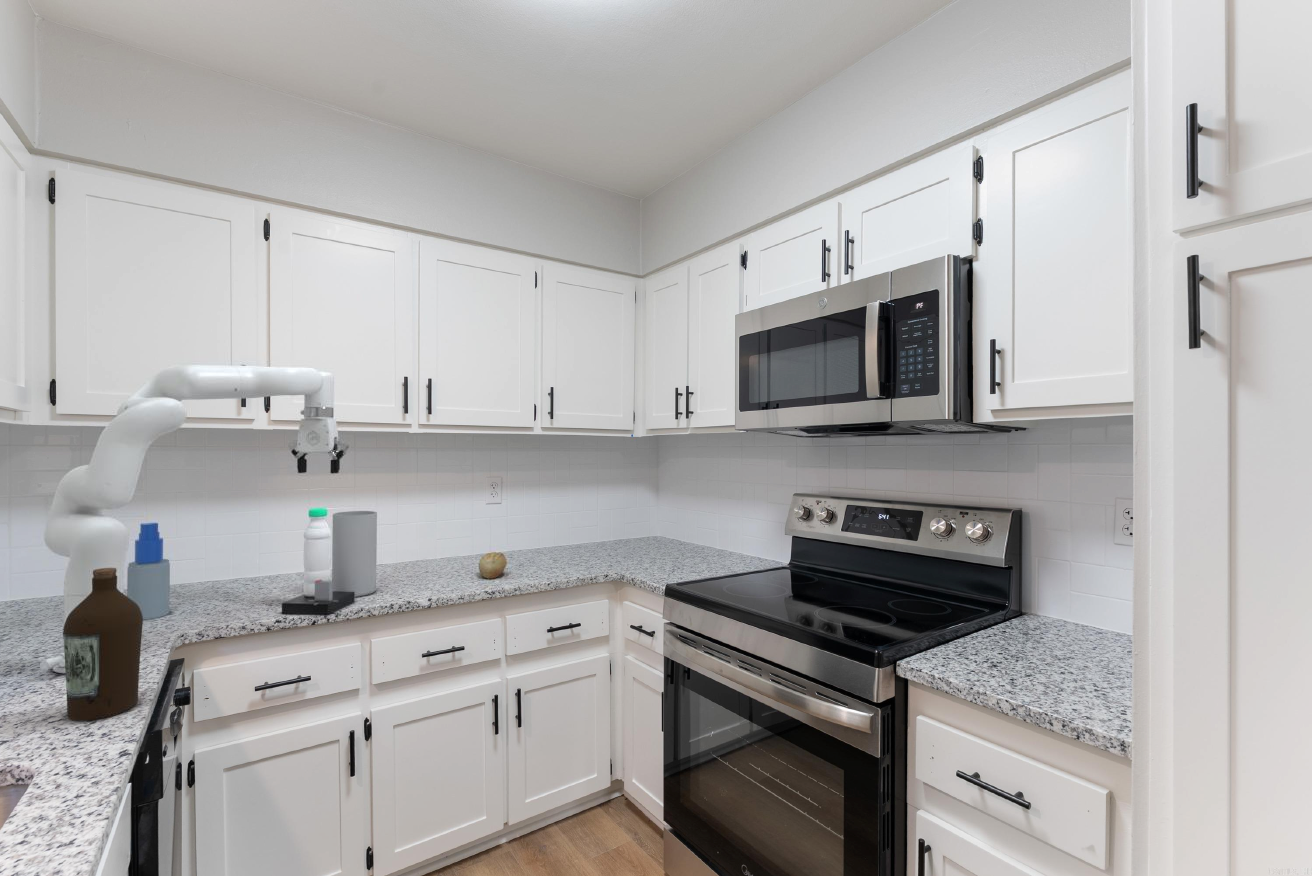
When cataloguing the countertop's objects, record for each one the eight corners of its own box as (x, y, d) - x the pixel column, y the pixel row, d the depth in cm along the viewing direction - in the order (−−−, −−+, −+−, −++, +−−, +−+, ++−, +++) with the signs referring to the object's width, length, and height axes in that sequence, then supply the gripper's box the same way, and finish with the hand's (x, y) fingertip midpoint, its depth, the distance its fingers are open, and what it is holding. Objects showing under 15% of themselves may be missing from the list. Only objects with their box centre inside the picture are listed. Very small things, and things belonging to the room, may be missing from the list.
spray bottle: (120, 621, 163) (121, 525, 163) (135, 612, 172) (136, 521, 172) (162, 618, 167) (163, 524, 167) (174, 609, 175) (175, 520, 175)
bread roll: (507, 570, 231) (508, 548, 231) (505, 579, 216) (505, 556, 216) (480, 571, 229) (481, 549, 229) (476, 580, 214) (477, 556, 214)
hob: (329, 616, 170) (329, 604, 170) (278, 615, 170) (278, 603, 170) (358, 601, 185) (358, 591, 185) (311, 600, 186) (312, 590, 186)
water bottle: (318, 598, 177) (319, 510, 177) (297, 596, 179) (298, 509, 179) (336, 592, 184) (337, 507, 184) (315, 590, 186) (316, 506, 186)
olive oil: (108, 695, 117) (110, 562, 117) (157, 699, 116) (158, 564, 116) (45, 720, 107) (46, 574, 107) (97, 725, 105) (99, 577, 105)
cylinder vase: (383, 588, 201) (383, 511, 201) (364, 598, 189) (365, 515, 189) (344, 587, 202) (345, 510, 202) (323, 597, 189) (324, 515, 189)
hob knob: (332, 600, 175) (332, 579, 175) (329, 601, 173) (329, 581, 173) (317, 599, 175) (318, 579, 175) (314, 601, 174) (314, 580, 174)
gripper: (281, 413, 178) (281, 473, 178) (341, 414, 177) (340, 474, 177) (298, 414, 186) (297, 472, 186) (354, 415, 185) (354, 472, 185)
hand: (318, 473), depth 181 cm, fingers open, 9 cm apart
